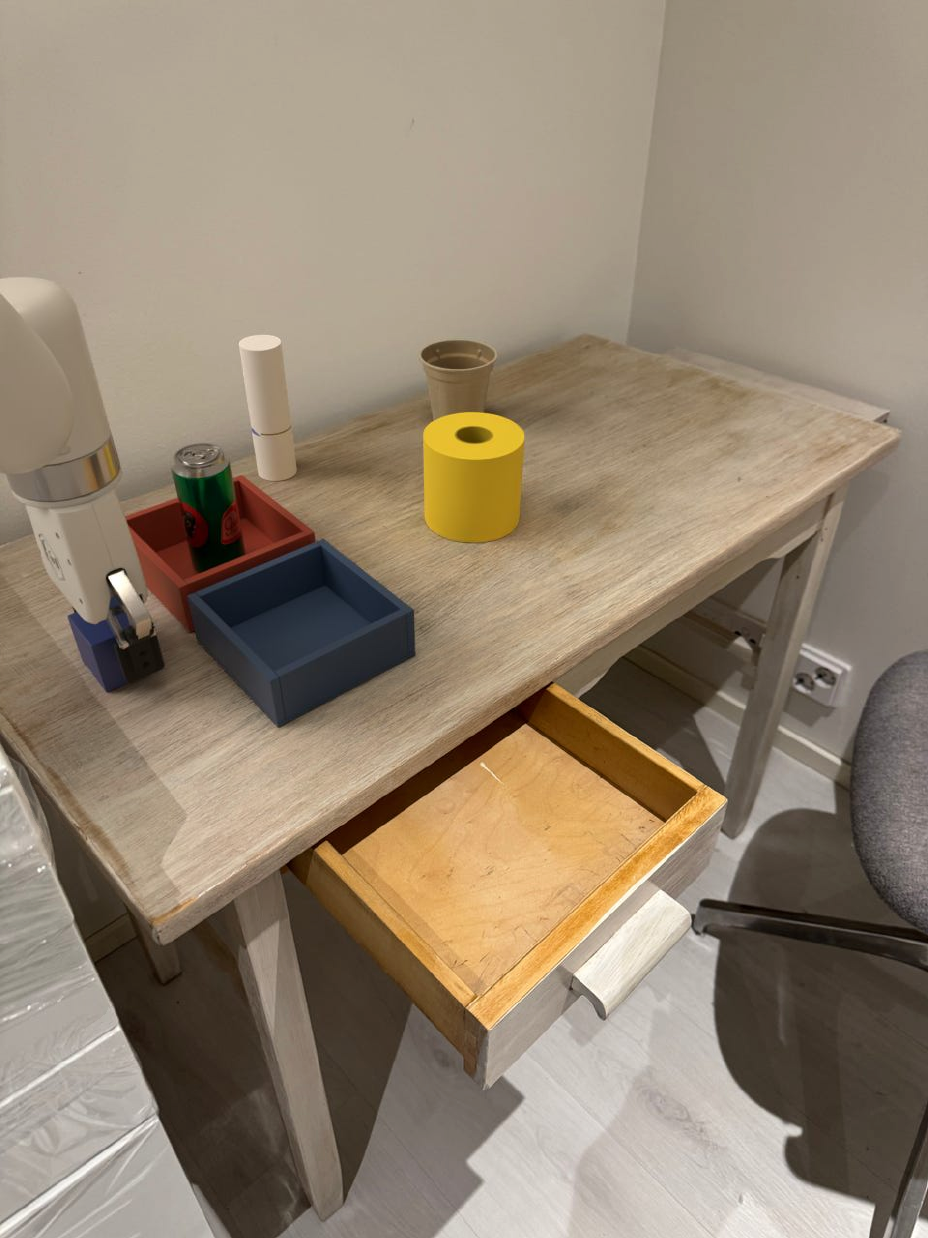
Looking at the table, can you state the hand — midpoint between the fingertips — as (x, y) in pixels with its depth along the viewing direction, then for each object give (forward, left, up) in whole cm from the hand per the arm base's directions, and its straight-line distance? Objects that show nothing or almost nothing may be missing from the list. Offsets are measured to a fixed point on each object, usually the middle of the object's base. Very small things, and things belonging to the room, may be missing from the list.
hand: (120, 643), depth 74 cm
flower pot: (+51, +17, -2) cm, 53 cm away
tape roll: (+38, -1, -2) cm, 38 cm away
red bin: (+13, +7, -2) cm, 15 cm away
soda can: (+13, +7, -2) cm, 14 cm away
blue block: (0, 0, -2) cm, 2 cm away
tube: (+27, +20, -2) cm, 33 cm away
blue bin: (+13, -8, -2) cm, 15 cm away
